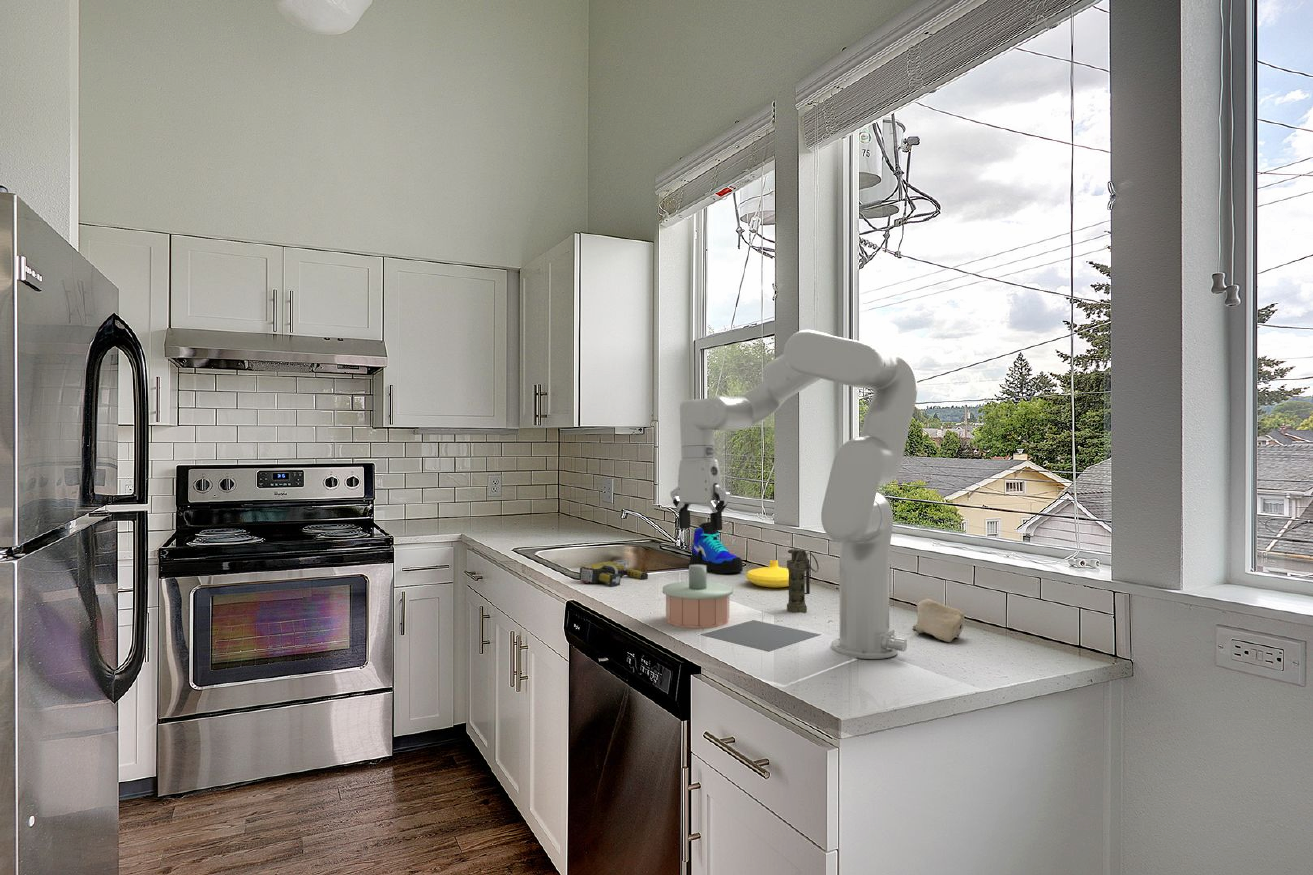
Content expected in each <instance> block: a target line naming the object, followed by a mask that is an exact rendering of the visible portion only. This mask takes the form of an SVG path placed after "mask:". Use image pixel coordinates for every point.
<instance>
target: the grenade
mask: <svg viewBox="0 0 1313 875" xmlns="http://www.w3.org/2000/svg"><path fill="white" fill-rule="evenodd" d="M787 552H788V554H791V559H788V560H787V561H786V568H787V569H788V571H789V586H788V602H787V603H786V610H787V612H788V613H789V612H791V613H799V614H800V613H801V614H802V613H803V614H806V613H807V612H808V608H807V607H808V606H807V604H806V598H805V595H810V593H811V592H810V590H811V588H810V586H811V585H810V584H811V581H810V580H811V579H810V572H811V570H812V571H813V573H817V572H819V562H818V560H817V558H816V556H815V555H814V554H813V553H811V552H806V550H805V549H804V548H803V549H801V548H793V549H792V548H791V549H789V550H788V551H787ZM808 555H811V556H812V558H813V559H814V561H815V564H816V570H815V569H813V567H812V566H811V564H810V559H809V558H808Z"/></svg>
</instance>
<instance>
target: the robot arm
mask: <svg viewBox="0 0 1313 875" xmlns="http://www.w3.org/2000/svg"><path fill="white" fill-rule="evenodd" d="M784 344H785V345H784V348H783V354H781V355H779V356H778V357H776V358H775V359H773V360H771V361H770V362H768V363H767V364H765V365H764V367H763V368H762V371H761V372H762V373H761V375H762V380H761V382H760V383H758V384H757V385H756V386H755V387H753V388H752V389H750V390H749V391H747V392H745V393H743V394H742V395H740V396H728V395H726V396H725V395H717V396H715V395H714V396H710V397H707V398H700V399H699V398H698V399H696V398H695V399H694V398H692V399H685V400H683V401H681V403H680V405H679V425H680V426H679V429H680V456H681V457H680V458H681V460H680V461H679V465H678V466H679V467H678V476H677V477H678V478H677V480H678V481H677V487H676V488H674V489H672V491H670V494H669V495H670V497H671V500H672V504H673V505H674V506H675V510H676V511H677V512H678V528H679V529H680V530H685V529H690V528H691V511H690V510H689V508H690V507H691V505H708V507H709V508H710V510H711V511H712V512H710V514H709V516H710V518H709V519H710V520H709V522H711V531H718V532H719V531H722V530H723V514H722V513H723V512H725V509H726V507H727V506H728V502H729V499H730V496H731V494H730V492H729V491H728V490H726V489H725V488H723V484H722V481H723V480H722V473H721V469H720V465H719V461H718V459H715V455H716V454H717V448H715V438H714V437H715V434H714V432H715V431H741V430H746V429H748V428H751V427H753V426H754V425H756V424H757V423H760V422H761V421H762V420H765V419H766V418H768V417H770V416H771V415H773V414H775V412H776V411H778V410H779V408H781V406H782V405H784V403H785V401H787V399H789V398H791V397H793V396H794V395H796V394H797V393H799V392H801V391H803V390H804V389H806V388H807V387H809V386H810V387H811V385H813V384H815V383H816V382H819V381H820V380H821V379H822V380H825V381H830V382H833V383H837V384H841V385H845V386H848V387H853V388H861V389H871V391H872V392H873V395H872V398H871V401H870V403H869V405H868V407H867V410H866V412H865V416H864V420H863V421H864V422H863V425H862V429H861V433H860V436H859V437H855V438H852V439H850V440H847V441H846V442H844V443H843V444H842V445H841V446H840V448H839V449H838V451H837V452H836V453H835V454H836V455H835V456H834V458H833V460H832V465H831V469H830V473H829V476H828V481H827V486H826V490H825V494H824V498H823V502H822V507H821V514H820V515H821V516H820V518H821V519H820V520H821V524H822V525H821V526H822V528H823V530H824V532H825V534H826V535H827V536H828V537H829V538H830V539H831V540H833V541H835V542H836V543H839V544H840V549H839V550H840V551H839V571H838V572H839V638H836V639H834V640H833V641H832V642H831V649H832V650H833V651H834V652H836V653H839V654H841V655H844V656H849V657H855V659H864V660H880V659H888V658H892V657H894V656H896V655H897V654H898V652H903V653H904V652H906V650H907V648H908V640H907V639H906V638H900V637H896V635H895V629H893V628H890V554H891V553H890V552H891V543H892V542H891V539H892V534H893V526H894V515H893V509H892V507H891V505H890V503H889V501H888V500H887V498H886V497H885V496H883V495H882V494H881V493H879V491H878V489H879V487H880V486H885V485H887V484H889V483H891V482H893V481H894V479H896V478H897V476H898V474H899V473H900V469H901V464H902V460H903V456H904V453H905V449H906V448H905V447H906V444H907V439H908V437H909V436H908V435H909V432H910V431H909V430H910V426H911V422H912V419H913V414H914V411H915V407H916V402H917V396H918V381H917V376H916V374H915V371H914V369H913V367H912V366H911V365H910V363H909V362H908V361H907V360H906V359H905V358H904V357H903V356H902V355H900V354H899V353H898V352H896V351H895V350H893V349H890V348H888V347H885V346H881V345H878V344H874V343H873V344H872V343H868V342H864V341H860V340H855V339H849V338H845V337H840V336H839V337H838V336H835V335H831V334H829V333H826V332H821V331H817V330H813V329H803V330H799V331H797V332H795V333H793V334H792V335H791V336H790V337H788V339H787V341H786V343H784Z"/></svg>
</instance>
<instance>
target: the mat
mask: <svg viewBox="0 0 1313 875" xmlns="http://www.w3.org/2000/svg"><path fill="white" fill-rule="evenodd" d="M699 636H704V637H707V638H712V639H716V640H720V641H722V642H723V641H724V642H728V643H732V644H736V645H741V646H744V647H748V648H752V649H757V650H760V651H764V652H772V651H775V650H779V649H782V648H785V647H788V646H791V645H794V644H796V643H800V642H803V641H806V640H810V639H813V638H816V637H819V636H822V634H820V633H815V632H811V631H807V630H803V629H797V628H792V627H789V626H783V625H779V624H774V623H769V622H765V621H761V620H760V621H758V620H755V619H752V620H749V621H744V622H741V623H738V624H734V625H731V626H727V627H726V626H725V627H723V628H719V629H715V630H711V631H708V632H704V633H700V634H699Z"/></svg>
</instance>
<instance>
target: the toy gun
mask: <svg viewBox="0 0 1313 875" xmlns="http://www.w3.org/2000/svg"><path fill="white" fill-rule="evenodd" d="M626 565H627V567H629V565H630V563H629V560H626V559H625V560H624V559H617V560H608V561H603V562H598V563H592V564H587V565H583V566H580V568H579V574H578V579H579V581H580V582H582V583H583V582H585V583H584V584H598V583H599V584H601V583H602V584H609V587H613V586H620V585H621V579H622V577H621V576H624V575H625V576H627V577H629V578H630V577H631V578H634V579H638V580H642V581H645V580H648V578H649V573H648V572H647V571H641V570H638V569H637V570H635V569H632V568H626V569H625V567H626ZM589 582H590V583H589ZM604 582H606V583H604Z"/></svg>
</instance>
